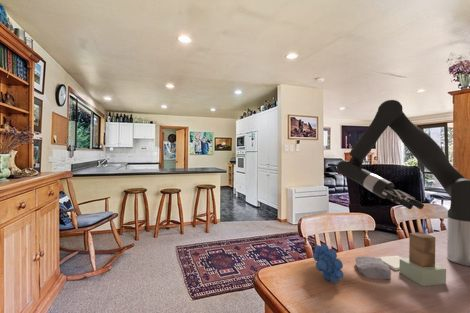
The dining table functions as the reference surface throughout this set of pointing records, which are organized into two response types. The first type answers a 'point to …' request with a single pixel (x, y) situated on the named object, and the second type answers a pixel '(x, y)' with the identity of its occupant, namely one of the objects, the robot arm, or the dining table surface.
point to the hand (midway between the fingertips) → (417, 207)
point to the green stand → (423, 273)
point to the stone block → (373, 267)
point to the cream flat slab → (392, 261)
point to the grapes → (328, 263)
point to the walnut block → (422, 249)
